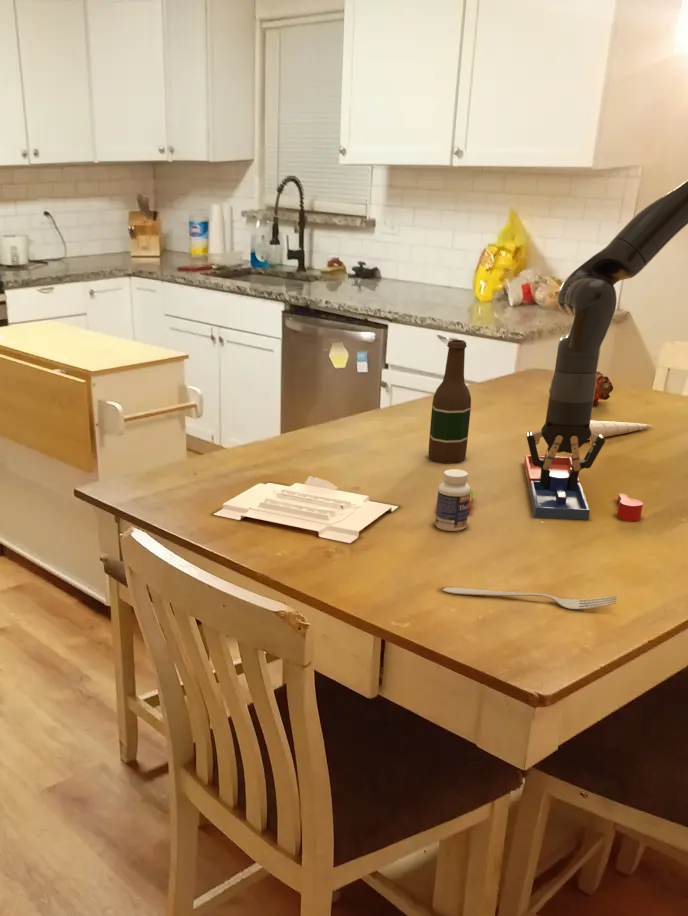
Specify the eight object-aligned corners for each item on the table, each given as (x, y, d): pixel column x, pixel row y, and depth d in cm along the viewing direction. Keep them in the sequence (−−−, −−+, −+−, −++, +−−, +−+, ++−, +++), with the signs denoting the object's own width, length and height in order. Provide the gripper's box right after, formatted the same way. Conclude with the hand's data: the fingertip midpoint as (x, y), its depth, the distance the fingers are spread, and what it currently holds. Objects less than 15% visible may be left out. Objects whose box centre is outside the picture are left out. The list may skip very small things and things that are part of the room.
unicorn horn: (662, 432, 211) (667, 411, 209) (572, 445, 204) (576, 423, 202) (647, 427, 215) (651, 406, 213) (559, 440, 208) (562, 418, 206)
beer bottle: (463, 465, 195) (475, 345, 184) (424, 462, 198) (434, 344, 186) (467, 454, 201) (479, 337, 190) (430, 451, 204) (440, 336, 193)
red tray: (570, 466, 193) (571, 457, 192) (578, 489, 180) (579, 480, 179) (524, 464, 195) (525, 455, 194) (528, 487, 182) (529, 478, 181)
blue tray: (579, 492, 179) (580, 482, 178) (588, 520, 167) (589, 510, 166) (529, 490, 181) (530, 480, 180) (534, 517, 168) (536, 507, 168)
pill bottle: (461, 534, 163) (467, 479, 158) (430, 529, 165) (435, 475, 160) (470, 523, 167) (476, 470, 162) (440, 518, 169) (445, 466, 165)
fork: (444, 585, 145) (445, 575, 144) (614, 605, 137) (616, 594, 136) (441, 594, 142) (442, 583, 141) (615, 615, 135) (617, 604, 134)
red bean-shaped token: (641, 521, 165) (644, 506, 164) (618, 520, 166) (621, 505, 165) (632, 501, 174) (635, 487, 173) (610, 500, 175) (613, 486, 173)
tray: (351, 543, 160) (351, 522, 159) (212, 520, 175) (211, 500, 173) (399, 506, 175) (399, 487, 174) (268, 487, 190) (267, 469, 188)
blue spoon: (545, 485, 178) (547, 470, 176) (566, 486, 177) (569, 471, 175) (550, 504, 169) (552, 489, 168) (572, 505, 168) (575, 490, 167)
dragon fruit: (612, 413, 231) (561, 414, 238) (618, 386, 235) (567, 388, 241) (609, 389, 225) (556, 391, 231) (615, 362, 228) (563, 365, 234)
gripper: (531, 399, 166) (518, 493, 174) (617, 402, 163) (600, 497, 171) (528, 389, 172) (516, 480, 180) (611, 391, 169) (595, 483, 177)
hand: (557, 487), depth 175 cm, fingers closed on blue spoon, 3 cm apart
